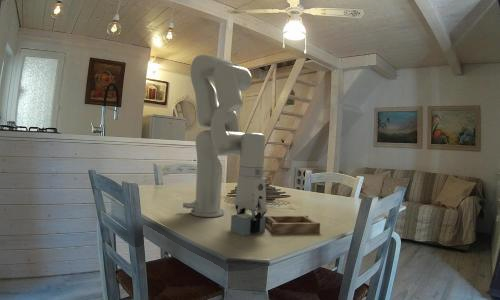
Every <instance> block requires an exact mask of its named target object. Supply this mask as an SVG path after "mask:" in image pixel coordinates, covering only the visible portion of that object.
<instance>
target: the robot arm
mask: <svg viewBox="0 0 500 300" xmlns="http://www.w3.org/2000/svg"><path fill="white" fill-rule="evenodd" d="M210 80H212V81H213V82H214V84H213V83H212V82H211V81H210ZM252 80H253V79H252V74H251V72H250V70H249V69H247V68H246V67H243V66H241V65H240V64H238V63H236V62H233V61H231V60H227V59H224V58H223V59H222V58H219V57H216V56H212V55H206V54H201V55H197V56H196V57H194V58H193V60H192V62H191V65H190V81H191V83H192V87H193V90H194V95H195V105H196V114H197V115H196V116H197V121H198V124H199V126H200V127H203V128H205V129H206V130H202V131H200V132H199V133H198V134H197V135H196V137H195V150H196V161H197V162H196V181H195V182H196V184H195V185H196V186H195V199H194V200H193V201H191V202H182V208H183V209H190V214H191V215H193V216H196V217H199V218H200V217H202V218H217V217H221V216H223V215H225V210H224V209H222V208H221V201H222V197H221V196H222V186H223V185H222V184H223V183H222V181H223V180H222V179H223V165H222V163H221V161H220V159H219V157H218V156H220V157H223V156H224V157H228V156H229V157H231V156H233V157H234V156H239V165H238V167H239V168H238V178H237V183H236V191H235V198H234V199H233V203H234V206H235V210H236V215H237V214H244V213H247V210H249V211H250V213H252V218H253V220H251V233H252V234H251V235H254V234H253V233H256V234H259V233H258V232H260V220H261V219H262V217H263V216H265V215H266V213H267V212H268V208H267V202H266V201H267V189H266V180H265V178H264V174H265V172H264V166H265V165H264V163H265V145H266V138H265V137H266V136H265V135H264V134H263V133H259V132H240V127H239V120H238V119H239V118H238V114H237V112H236V111H238V110H240V109H241V108H242V107H243V104H244V100H243V95H242V93H241V92H247V91H248V90H249V89H251V86H252ZM207 128H208V129H209V130H208V129H207ZM255 213H257V215H256V214H255Z"/></svg>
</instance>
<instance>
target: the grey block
mask: <svg viewBox="0 0 500 300" xmlns="http://www.w3.org/2000/svg"><path fill="white" fill-rule="evenodd" d="M255 214H256V215H257V212H255ZM266 216H267V215H264V216H263V217H262V219H261V220H260V232H258V233H257V234H260V233H265V232H266V227H265V221H266ZM230 220H231V221H230V232H232V233H234V232H235V234H236V233H237V235H239V236H241V235H242V236H241V237H245V235H247V236H250V234H251V235H256V234H255V233H253V234H252V233H251V220H253V218H252V213H251V212H246V213H244V214H237V213H236V214H233V215H232V214H231V218H230Z"/></svg>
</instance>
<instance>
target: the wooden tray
mask: <svg viewBox="0 0 500 300" xmlns="http://www.w3.org/2000/svg"><path fill="white" fill-rule="evenodd" d="M265 216H266V221H265V229H267V230H268V231H269V232H270V233H271V234H272V235H273V234H274V235H275V234H277V235H278V234H310V233H311V234H319V233H321V231H320V230H321V222H316V221H314V220H312V219H311V218H309V215H265Z"/></svg>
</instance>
